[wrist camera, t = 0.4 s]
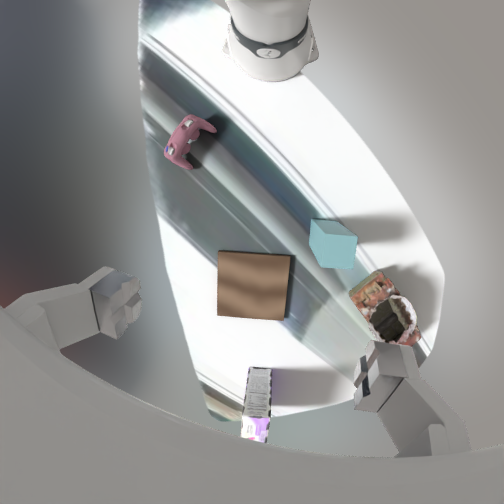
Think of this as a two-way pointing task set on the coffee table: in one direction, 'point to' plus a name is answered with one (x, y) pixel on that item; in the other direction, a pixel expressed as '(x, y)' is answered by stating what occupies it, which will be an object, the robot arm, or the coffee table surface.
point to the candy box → (257, 405)
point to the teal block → (332, 244)
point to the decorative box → (386, 310)
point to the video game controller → (185, 139)
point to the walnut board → (252, 285)
